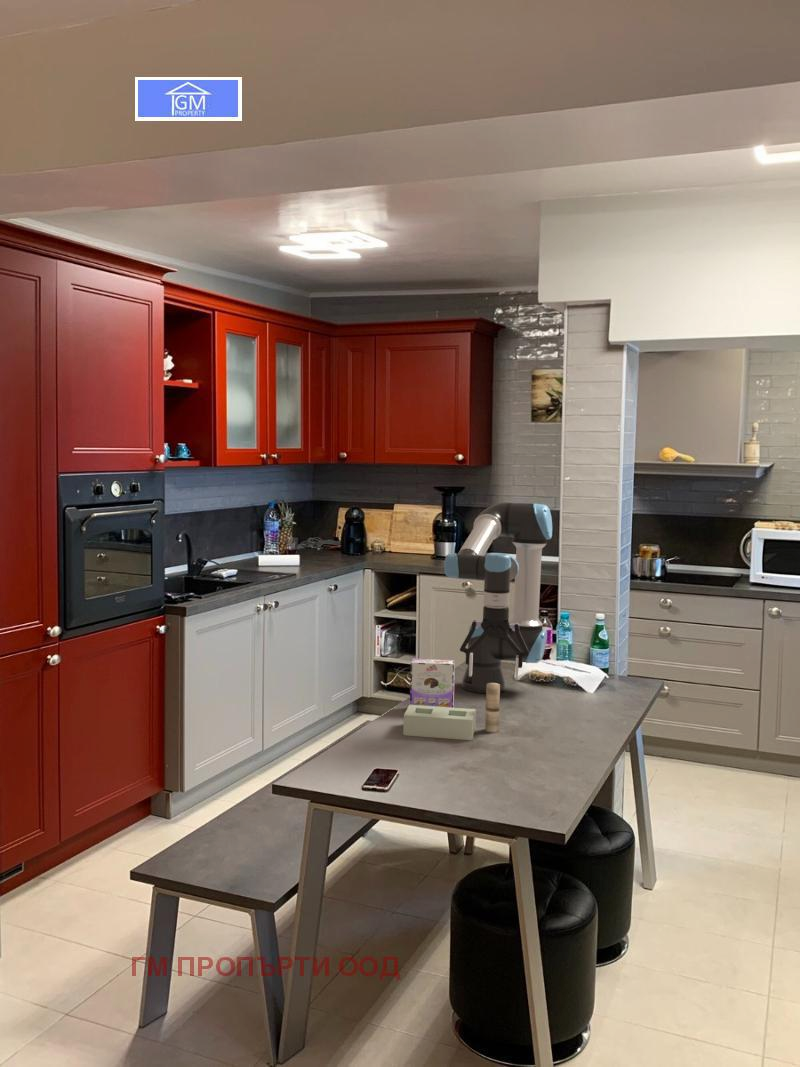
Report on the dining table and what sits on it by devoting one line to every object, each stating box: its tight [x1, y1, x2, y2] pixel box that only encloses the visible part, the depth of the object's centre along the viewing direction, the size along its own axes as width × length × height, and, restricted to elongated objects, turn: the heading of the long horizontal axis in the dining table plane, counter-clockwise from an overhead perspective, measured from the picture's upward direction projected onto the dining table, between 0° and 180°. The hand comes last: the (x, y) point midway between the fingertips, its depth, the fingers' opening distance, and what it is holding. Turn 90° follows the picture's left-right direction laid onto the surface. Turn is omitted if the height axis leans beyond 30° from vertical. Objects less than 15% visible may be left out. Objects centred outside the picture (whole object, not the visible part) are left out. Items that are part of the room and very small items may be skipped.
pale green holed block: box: [402, 704, 477, 741], centre depth 281 cm, size 11×20×6 cm, turn 81°
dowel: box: [484, 683, 501, 734], centre depth 283 cm, size 4×4×14 cm
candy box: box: [409, 658, 455, 708], centre depth 300 cm, size 14×6×16 cm, turn 84°
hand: (493, 677), depth 281 cm, fingers open, 13 cm apart
